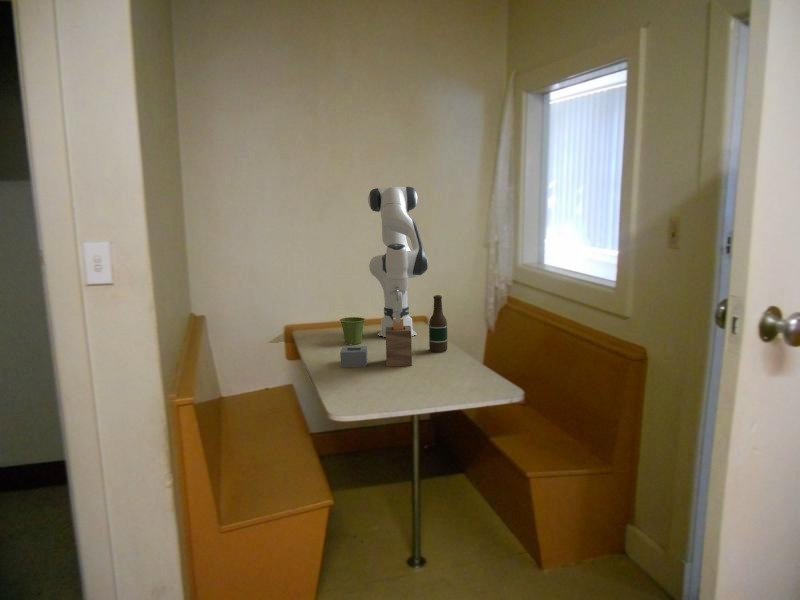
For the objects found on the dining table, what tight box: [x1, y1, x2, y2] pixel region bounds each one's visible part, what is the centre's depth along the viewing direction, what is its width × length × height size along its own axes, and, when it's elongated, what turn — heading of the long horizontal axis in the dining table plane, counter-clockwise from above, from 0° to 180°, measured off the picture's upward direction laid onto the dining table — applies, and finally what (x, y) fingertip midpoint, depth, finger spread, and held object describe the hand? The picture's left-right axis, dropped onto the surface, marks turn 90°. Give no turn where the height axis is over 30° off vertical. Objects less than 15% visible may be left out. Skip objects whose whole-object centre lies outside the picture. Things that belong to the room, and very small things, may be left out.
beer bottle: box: [428, 294, 448, 353], centre depth 256 cm, size 8×8×24 cm
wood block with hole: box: [385, 326, 413, 367], centre depth 239 cm, size 10×10×14 cm
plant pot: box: [339, 316, 366, 345], centre depth 274 cm, size 12×12×11 cm
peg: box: [393, 318, 403, 330], centre depth 238 cm, size 3×4×8 cm
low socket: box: [339, 345, 369, 368], centre depth 240 cm, size 10×10×6 cm
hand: (397, 320), depth 237 cm, fingers open, 8 cm apart
